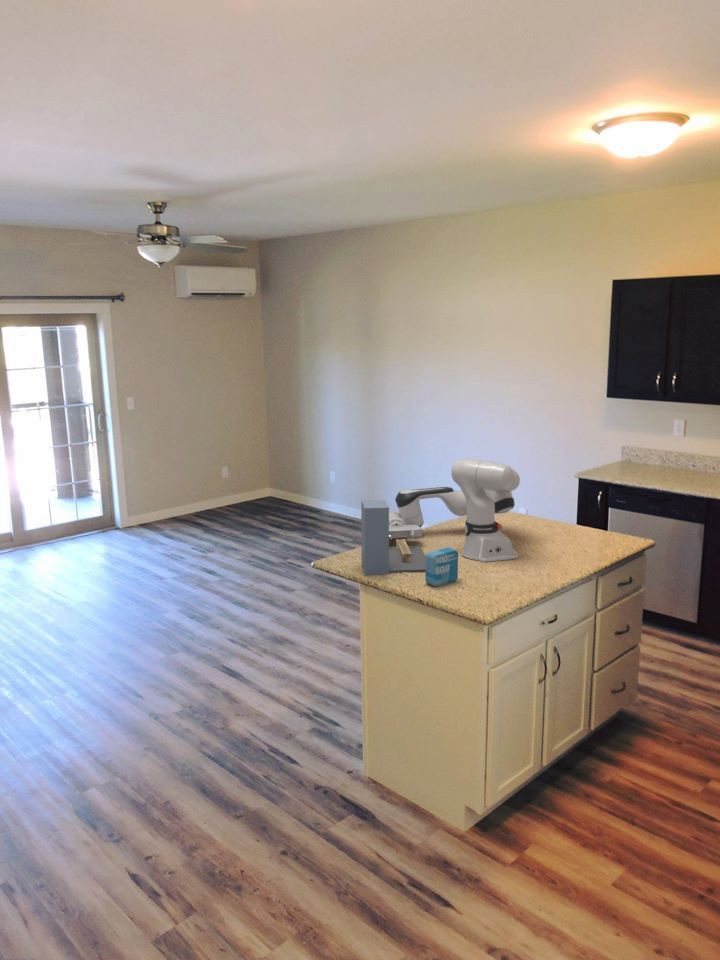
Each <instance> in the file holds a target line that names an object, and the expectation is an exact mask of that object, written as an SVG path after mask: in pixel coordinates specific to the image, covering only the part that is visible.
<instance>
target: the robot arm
mask: <svg viewBox="0 0 720 960" xmlns="http://www.w3.org/2000/svg"><path fill="white" fill-rule="evenodd" d="M450 474H451V478H452V480H453V481H454V483H455V484H457V486H458V487H459V488H460V490H454V489H453V487H449V486H439V487H438V486H437V487H429V488H428V487H427V488H416V489H415V488H414V489H409V488H408V489H403V490H400V491H399V492H397V495H396V496H395V498H394V499H395V504H396V506H397V509H398V512H397V511H395V510H389V541H390V540H391V539H393V540H396V539H403V538H404V539H405V538H409V539H410V540H411V539H414V538H420V537H422V536H423V529H422V526H423V525H424V517H423V513H422V508H421V505H420V500H423V499H424V500H425V499H434V498H436V499H437V498H439V499H440V500H441V501H442V502H443V503H444V505H445V507H446V508H447V509H448V511H449V512H450V513H452V514H453V515H455V516H457V517H464V516H465V517H466V520H465V524H464V533H465V539H464V544H463V548H462V551H461V556H463V557H464V558H467V559H470V560H475V561H479V562H482V563H490V562H497V561H507V560H517V559H518V558H519V553H518V551H516V550H515V549H514V548H513V544H512V541H511V539H510V538H509V537H508V536H507V535H505V534H504V533H503V532H501V531H502V529H503V525H502V524H501V523H499V522H497V521H496V520H495V514H499V515H500V514H506V513H508V512H510V511H511V510H512V509H513V508H514V507H515V499H514V497H513V494H512V493H513V491H515V490H516V489H518V487H519V486H520V483H521V478H520V475H519V473H518V472H517V470H514V469H513V468H511V466H510V465H507V464H505V463H501V462H498V461H497V462H496V461H488V460H480V459H471V458H466V459H464V458H463V459H457V460H456V461H455V462H454V464H453V465H452V468H451V473H450ZM500 530H501V531H500Z"/></svg>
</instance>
